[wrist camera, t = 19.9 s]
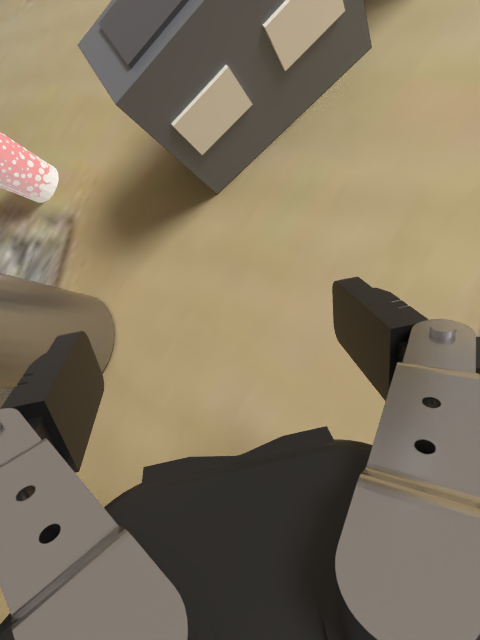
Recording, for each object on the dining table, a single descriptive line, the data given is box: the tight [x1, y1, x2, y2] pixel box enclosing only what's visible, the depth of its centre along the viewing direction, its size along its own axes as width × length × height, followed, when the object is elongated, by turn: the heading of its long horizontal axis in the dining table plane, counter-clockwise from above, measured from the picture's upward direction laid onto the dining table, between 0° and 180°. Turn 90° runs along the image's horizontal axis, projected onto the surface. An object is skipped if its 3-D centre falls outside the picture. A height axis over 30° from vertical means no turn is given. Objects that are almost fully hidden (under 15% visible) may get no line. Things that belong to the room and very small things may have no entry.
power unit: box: [78, 0, 372, 194], centre depth 26 cm, size 7×16×12 cm, turn 124°
